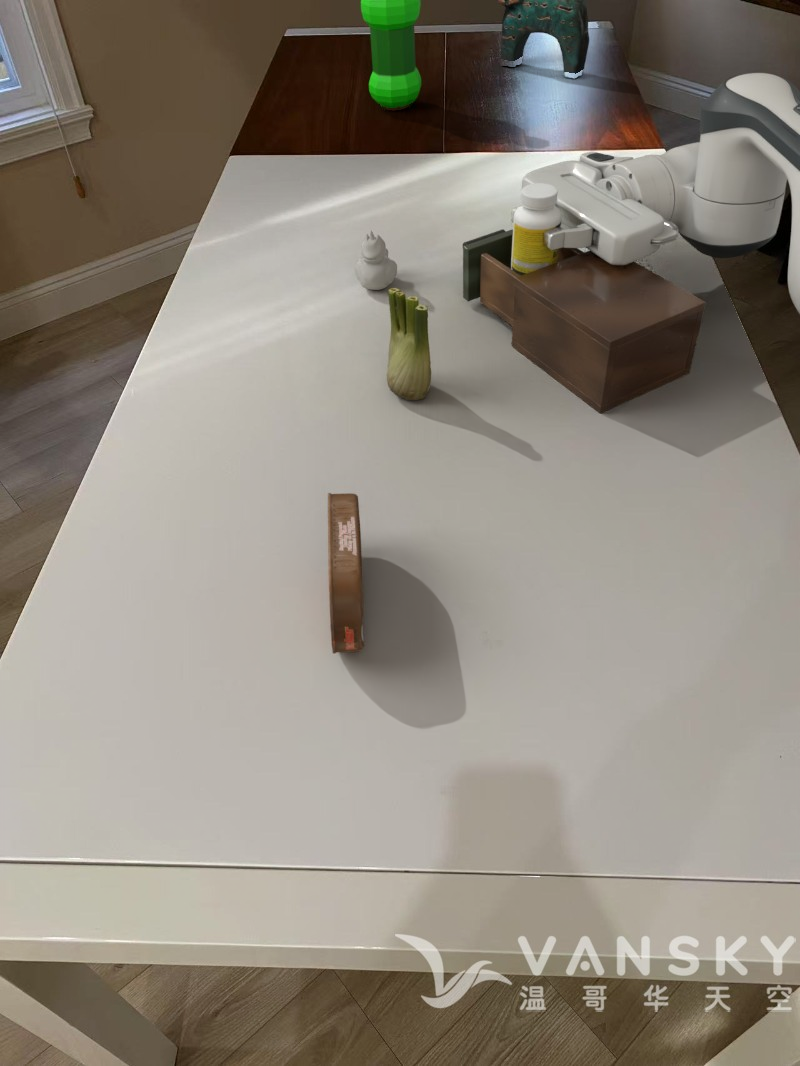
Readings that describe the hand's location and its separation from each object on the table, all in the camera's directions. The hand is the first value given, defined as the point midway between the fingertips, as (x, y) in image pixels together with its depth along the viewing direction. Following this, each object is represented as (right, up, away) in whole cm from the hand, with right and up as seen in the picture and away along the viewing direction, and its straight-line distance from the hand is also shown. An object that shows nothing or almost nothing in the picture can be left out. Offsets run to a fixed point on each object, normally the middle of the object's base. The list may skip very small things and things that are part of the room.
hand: (529, 229), depth 94 cm
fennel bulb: (-14, -19, -2) cm, 24 cm away
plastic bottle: (-15, +46, +62) cm, 79 cm away
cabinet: (+8, -15, +1) cm, 17 cm away
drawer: (+1, -6, +9) cm, 10 cm away
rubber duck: (-18, -2, +15) cm, 24 cm away
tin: (-19, -41, -23) cm, 50 cm away
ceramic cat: (+13, +58, +72) cm, 94 cm away
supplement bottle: (+1, -4, +4) cm, 6 cm away
